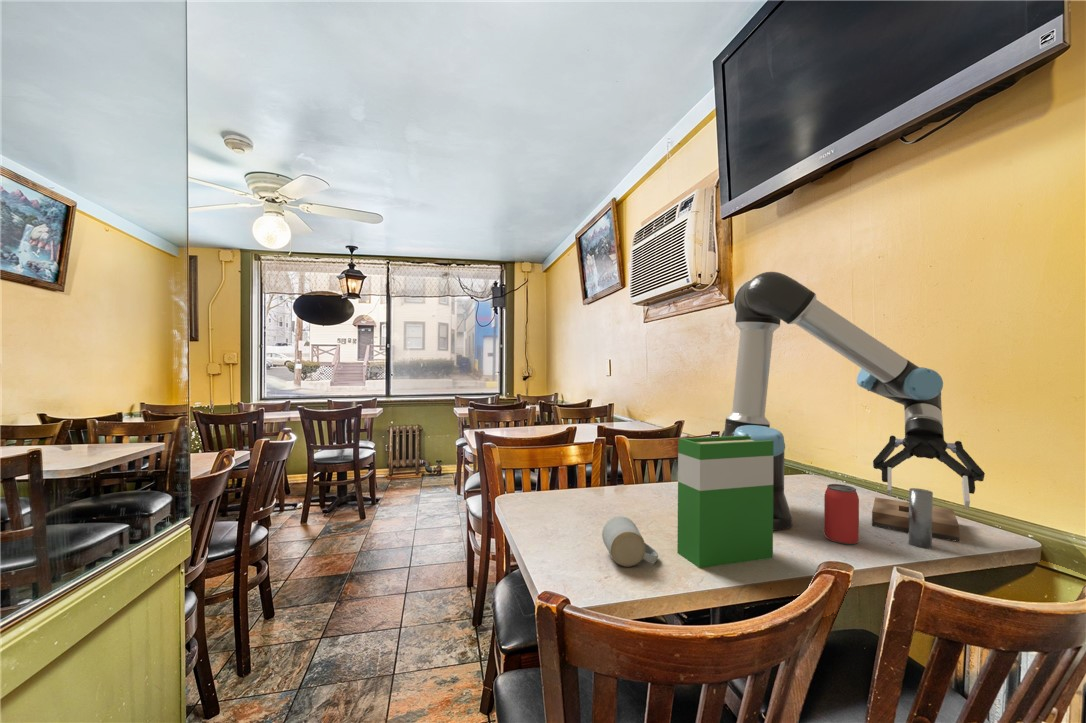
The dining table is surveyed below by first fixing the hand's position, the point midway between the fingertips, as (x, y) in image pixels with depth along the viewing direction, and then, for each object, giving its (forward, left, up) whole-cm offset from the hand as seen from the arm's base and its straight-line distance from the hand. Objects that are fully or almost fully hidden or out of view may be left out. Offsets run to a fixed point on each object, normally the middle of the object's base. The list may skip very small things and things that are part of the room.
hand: (926, 498), depth 104 cm
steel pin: (-1, -5, -9) cm, 11 cm away
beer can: (-15, -13, -10) cm, 22 cm away
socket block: (-2, +11, -9) cm, 15 cm away
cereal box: (-33, -39, -10) cm, 52 cm away
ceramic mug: (-48, -53, -10) cm, 72 cm away
